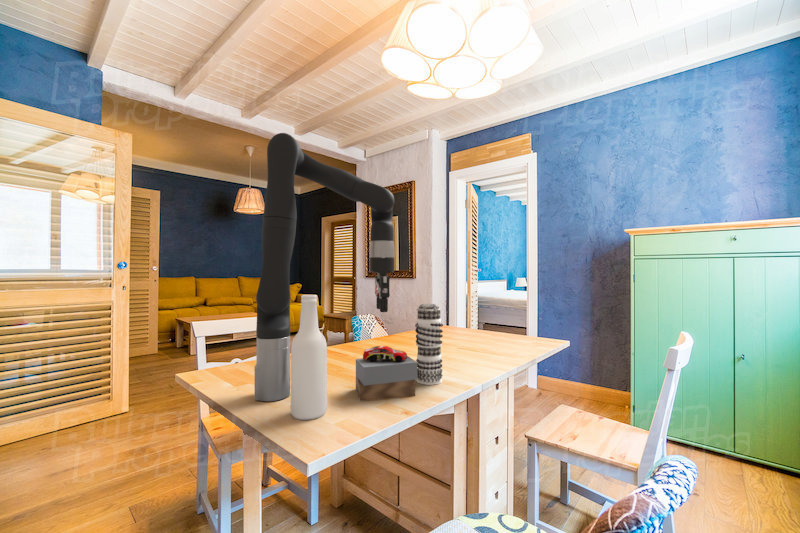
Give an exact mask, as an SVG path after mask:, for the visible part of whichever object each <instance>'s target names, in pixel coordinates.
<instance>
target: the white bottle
mask: <svg viewBox="0 0 800 533" xmlns="http://www.w3.org/2000/svg"><path fill="white" fill-rule="evenodd" d="M300 297H301V298H300V299H301V300H300V303H301V305H300V306H301V307H300V318H299V329H298V331H297V333H296V334H295V336H294V337H293V338H292V341H291V343H290V414H291V415H292V417H293V418H294V419H296V420H299V421H311V420H315V419H318V418H321V417H323V416H324V415H325V414H326V412H327V409H328V403H327V402H328V395H327V394H328V391H327V390H328V380H327V379H328V376H327V375H328V368H327V367H328V363H327V362H328V359H327V358H328V353H327V352H328V348H327V347H328V346H327V345H328V344H327V340H326V337H325V336H324V334H323V333H322V332H321V331H320V328H319V317H318V316H319V315H318V306H317V305H318V304H317V302H318V299H317V297H318V295H317V294H302V295H301V296H300Z"/></svg>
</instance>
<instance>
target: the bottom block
mask: <svg viewBox="0 0 800 533" xmlns="http://www.w3.org/2000/svg"><path fill="white" fill-rule="evenodd" d="M355 391H356V393H357V396H358V399H359V401H360V402H362V401H374V400H383V399H384V400H385V399H396V398H405V397H406V398H407V397H416V380H409V381H401V382H392V383H383V384H374V385H366V386H364V385H363V384H362V383H361V382H360V380H359V379H358V378H357V377H356V376H355Z"/></svg>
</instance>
